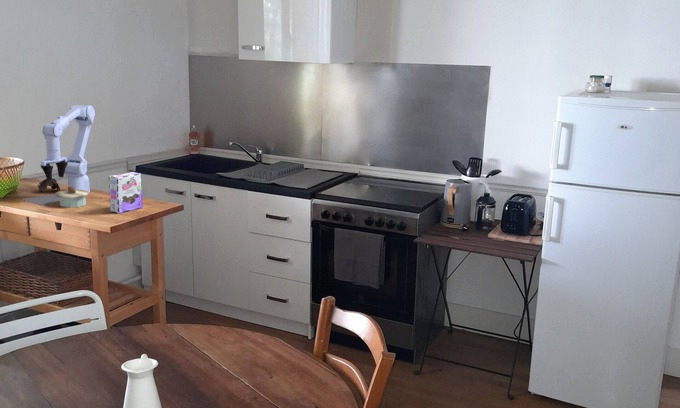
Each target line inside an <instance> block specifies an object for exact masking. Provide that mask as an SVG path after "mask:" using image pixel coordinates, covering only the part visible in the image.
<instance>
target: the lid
mask: <svg viewBox="0 0 680 408" xmlns="http://www.w3.org/2000/svg"><path fill="white" fill-rule="evenodd" d="M54 195H55V196H56V197H60V198H78V197H84V196H87V197H88V196H89V192H88V191H86V190H76V188H75V187H67V189H63V190H61V191H59V192H58V191H56V192H55V193H54Z"/></svg>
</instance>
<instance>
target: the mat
mask: <svg viewBox="0 0 680 408" xmlns="http://www.w3.org/2000/svg"><path fill="white" fill-rule="evenodd" d="M21 201H24V202H27V203H31V204H34V205H37V206H46V205H50V204H57V203H60V199H59V197H56V196H55V193H54V194H52V193H51V194H46V195H45V194H44V195H39V196H34V197H29V198H23V199H21Z"/></svg>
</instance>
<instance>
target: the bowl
mask: <svg viewBox="0 0 680 408" xmlns="http://www.w3.org/2000/svg"><path fill="white" fill-rule="evenodd" d="M59 199H60V202H59V206H61V207H63V208H75V209H77V208H83V207H85V206H86V205H87V197H86V196H84V197H78V198H60V197H59Z"/></svg>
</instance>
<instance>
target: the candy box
mask: <svg viewBox="0 0 680 408" xmlns="http://www.w3.org/2000/svg"><path fill="white" fill-rule="evenodd" d="M142 184H143V183H142V173H139V172H136V171H135V172H134V171H132V172H127V173H126V172H125V173H120V174H114V175H108V187H109V188H108V190H109V191H108V194H109V195H108V196H109V211H110V212H112V213H115V214H121V213H125V212H126V213H127V212H131V211H135V210H139V209H140V210H141V209H143V189H142V188H143V187H142V186H143V185H142Z"/></svg>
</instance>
